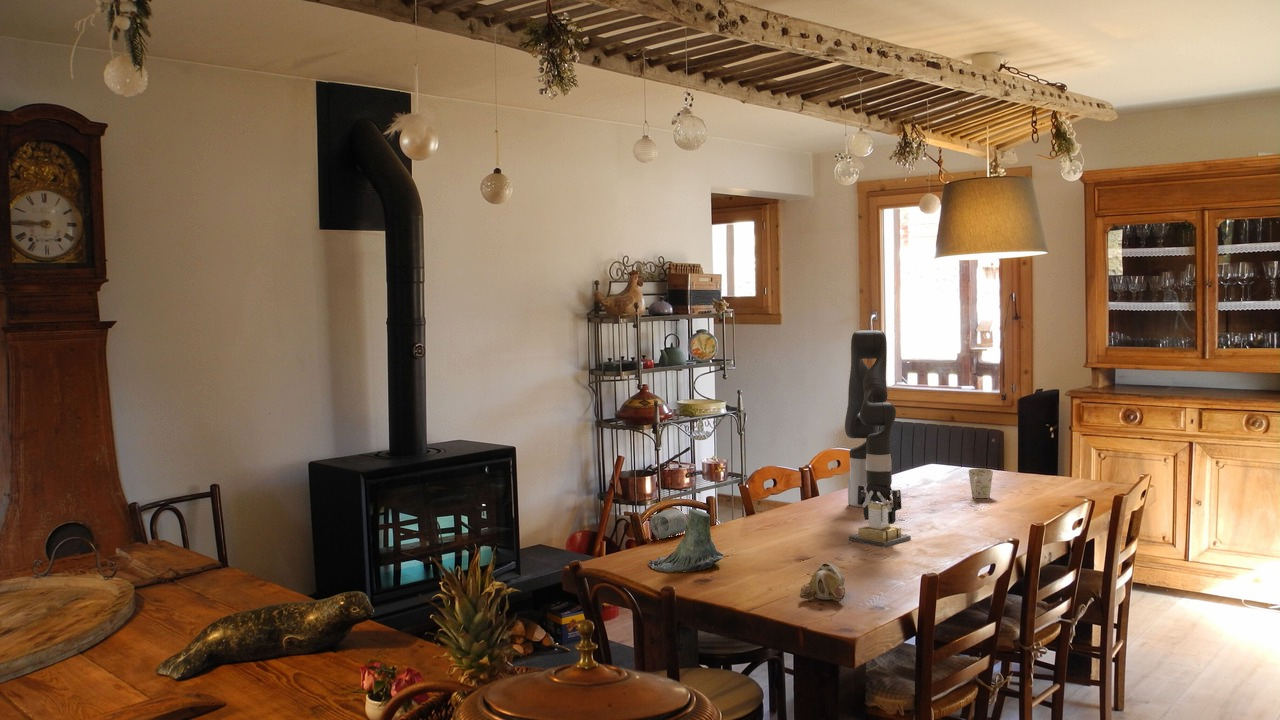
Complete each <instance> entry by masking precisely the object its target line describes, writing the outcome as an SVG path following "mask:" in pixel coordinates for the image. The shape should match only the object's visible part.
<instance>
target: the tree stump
mask: <svg viewBox="0 0 1280 720" xmlns="http://www.w3.org/2000/svg"><path fill="white" fill-rule="evenodd" d="M686 520H687V524H686V525H685V528H686V530H685V531H684V534H683V535H684V536H683V538H682V539H681V540H680V541H679V543H678V545H677V547H675V549H674V550H673V551H672V552H671V553H670V554H669V555H667V556H662V557H660V556H659V557H658V558H656V559H654V560H651V559H649V561H648V566H649V568H650V567H651V568H652V569H651V568H650V569H651V570H653V569H655V571H657V570H658V571H657V572H662V571H664V572H663V573H668V572H683V571H692V572H694V571H693V570H698V571H701V570H700V569H703V570H706V569H705V568H708V569H711V567H712V566H713V565H715V564H716V563H717V562H719V561H720V560H722V559H723V558H724V554H723V553H722V552H720V551H718V550H717V548H716V545H715V544H714V542H713V540H712V536H711V535H712V534H711V515H710V514H709V513H706V512H705V511H702V510H699V509H693V508H689V509H688V515H687V519H686ZM658 565H659V566H658ZM683 573H684V572H683Z"/></svg>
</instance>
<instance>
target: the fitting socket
mask: <svg viewBox="0 0 1280 720" xmlns="http://www.w3.org/2000/svg"><path fill="white" fill-rule="evenodd" d="M857 529H858V532H857V533H856V534H852V535H849V536H848V541H851V542H856V543H862V544H867V545H871V546H877V547H880V548H881V547H883V548H887V547H890V546H893V545H897V544H900V543H904V542H908V541H911V535H908V534H902V527H899V526H894V525H893V526H892V525H890V529H887V530H884V531H879V530H874V529H869V524H868V525H864V526H862V527H861V526H859V527H858V528H857Z"/></svg>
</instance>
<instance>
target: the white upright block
mask: <svg viewBox="0 0 1280 720" xmlns="http://www.w3.org/2000/svg"><path fill="white" fill-rule="evenodd" d="M868 508H869V520H868V525H869V529H874V530H879V531H884V530H887V529H890V526H891V524H888V512H889V510H888V509H887V507H886V506H885V505H884V504H883V502H882V503H880V502H877V501H876V502H872V503H868Z"/></svg>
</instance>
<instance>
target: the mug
mask: <svg viewBox="0 0 1280 720" xmlns="http://www.w3.org/2000/svg"><path fill="white" fill-rule="evenodd" d="M993 471H994V470H993V469H989V468H988V469H987V468H969V469H968V475H969V476H968V477H969V484H970V490H971V496H972V498H973V497H974V498H973V499H976V498H988V499H990V498H989V497H991V490H992V481H993V475H994V472H993Z"/></svg>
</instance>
